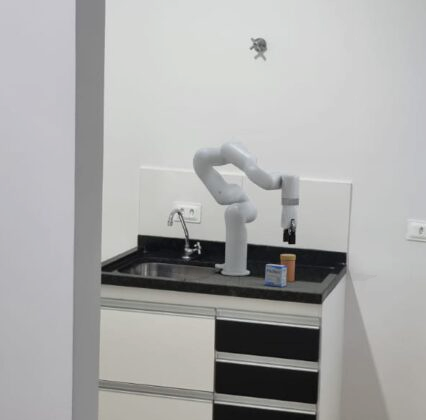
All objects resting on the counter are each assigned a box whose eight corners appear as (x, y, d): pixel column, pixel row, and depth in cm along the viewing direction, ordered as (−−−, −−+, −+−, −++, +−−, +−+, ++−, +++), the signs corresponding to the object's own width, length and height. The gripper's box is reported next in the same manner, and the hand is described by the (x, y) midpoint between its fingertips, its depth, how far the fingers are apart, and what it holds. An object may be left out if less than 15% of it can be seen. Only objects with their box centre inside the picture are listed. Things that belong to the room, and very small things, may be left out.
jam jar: (279, 281, 369) (280, 256, 368) (280, 278, 375) (281, 254, 374) (293, 281, 369) (294, 257, 368) (295, 279, 375) (295, 255, 374)
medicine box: (264, 285, 358) (265, 264, 357) (269, 283, 362) (270, 263, 361) (281, 287, 354) (282, 266, 354) (286, 285, 358) (287, 265, 358)
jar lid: (279, 259, 368) (279, 255, 368) (281, 257, 374) (281, 253, 374) (294, 260, 368) (295, 256, 367) (296, 258, 374) (296, 254, 374)
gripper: (276, 200, 376) (275, 240, 377) (286, 204, 359) (285, 245, 361) (293, 200, 378) (292, 240, 380) (304, 204, 362) (303, 245, 363)
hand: (289, 242), depth 370 cm, fingers open, 7 cm apart
